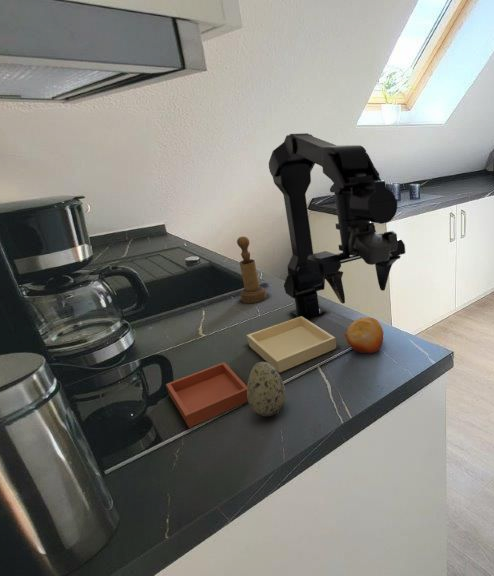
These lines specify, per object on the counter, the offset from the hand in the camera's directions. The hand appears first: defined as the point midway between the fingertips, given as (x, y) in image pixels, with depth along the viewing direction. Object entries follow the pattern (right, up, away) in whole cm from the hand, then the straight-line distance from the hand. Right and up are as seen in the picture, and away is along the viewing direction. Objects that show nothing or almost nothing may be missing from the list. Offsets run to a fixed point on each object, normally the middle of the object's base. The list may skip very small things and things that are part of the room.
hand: (363, 296), depth 80 cm
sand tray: (-17, -11, +10) cm, 23 cm away
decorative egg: (-14, -20, -10) cm, 27 cm away
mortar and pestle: (-37, -2, +35) cm, 51 cm away
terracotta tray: (-27, -18, -6) cm, 33 cm away
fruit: (-1, -12, +8) cm, 15 cm away
